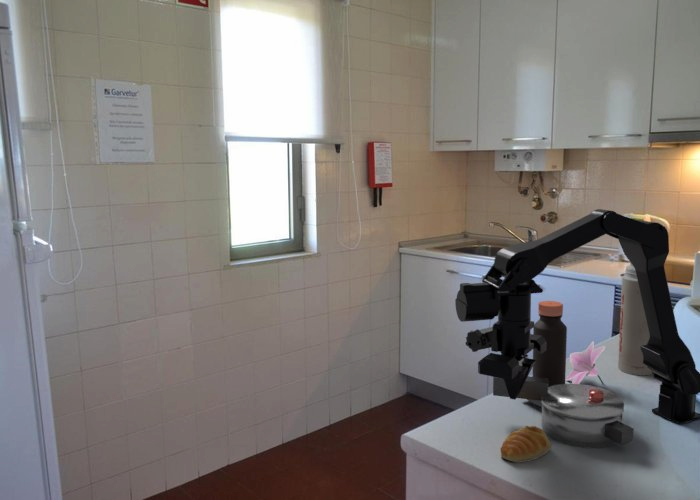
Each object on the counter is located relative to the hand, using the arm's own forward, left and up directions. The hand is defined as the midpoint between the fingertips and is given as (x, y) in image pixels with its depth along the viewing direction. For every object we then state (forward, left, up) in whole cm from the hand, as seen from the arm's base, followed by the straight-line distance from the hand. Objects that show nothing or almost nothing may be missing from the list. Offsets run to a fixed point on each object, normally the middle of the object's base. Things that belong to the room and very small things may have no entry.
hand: (513, 398), depth 110 cm
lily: (-29, -11, -7) cm, 32 cm away
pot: (-12, +2, -7) cm, 14 cm away
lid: (-9, +2, -1) cm, 9 cm away
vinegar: (-19, -11, -7) cm, 23 cm away
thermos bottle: (-47, -12, -7) cm, 49 cm away
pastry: (+3, +7, -7) cm, 10 cm away
